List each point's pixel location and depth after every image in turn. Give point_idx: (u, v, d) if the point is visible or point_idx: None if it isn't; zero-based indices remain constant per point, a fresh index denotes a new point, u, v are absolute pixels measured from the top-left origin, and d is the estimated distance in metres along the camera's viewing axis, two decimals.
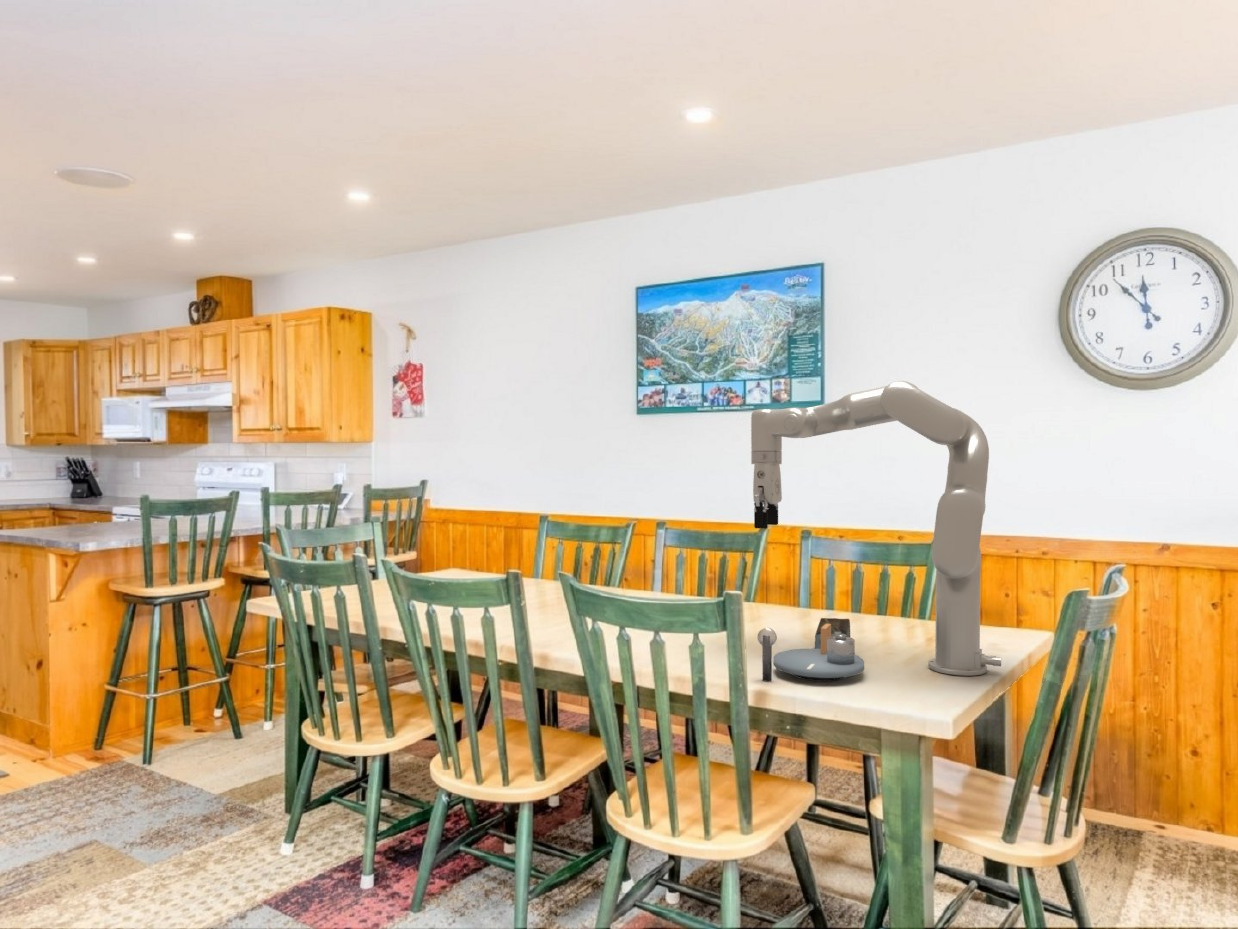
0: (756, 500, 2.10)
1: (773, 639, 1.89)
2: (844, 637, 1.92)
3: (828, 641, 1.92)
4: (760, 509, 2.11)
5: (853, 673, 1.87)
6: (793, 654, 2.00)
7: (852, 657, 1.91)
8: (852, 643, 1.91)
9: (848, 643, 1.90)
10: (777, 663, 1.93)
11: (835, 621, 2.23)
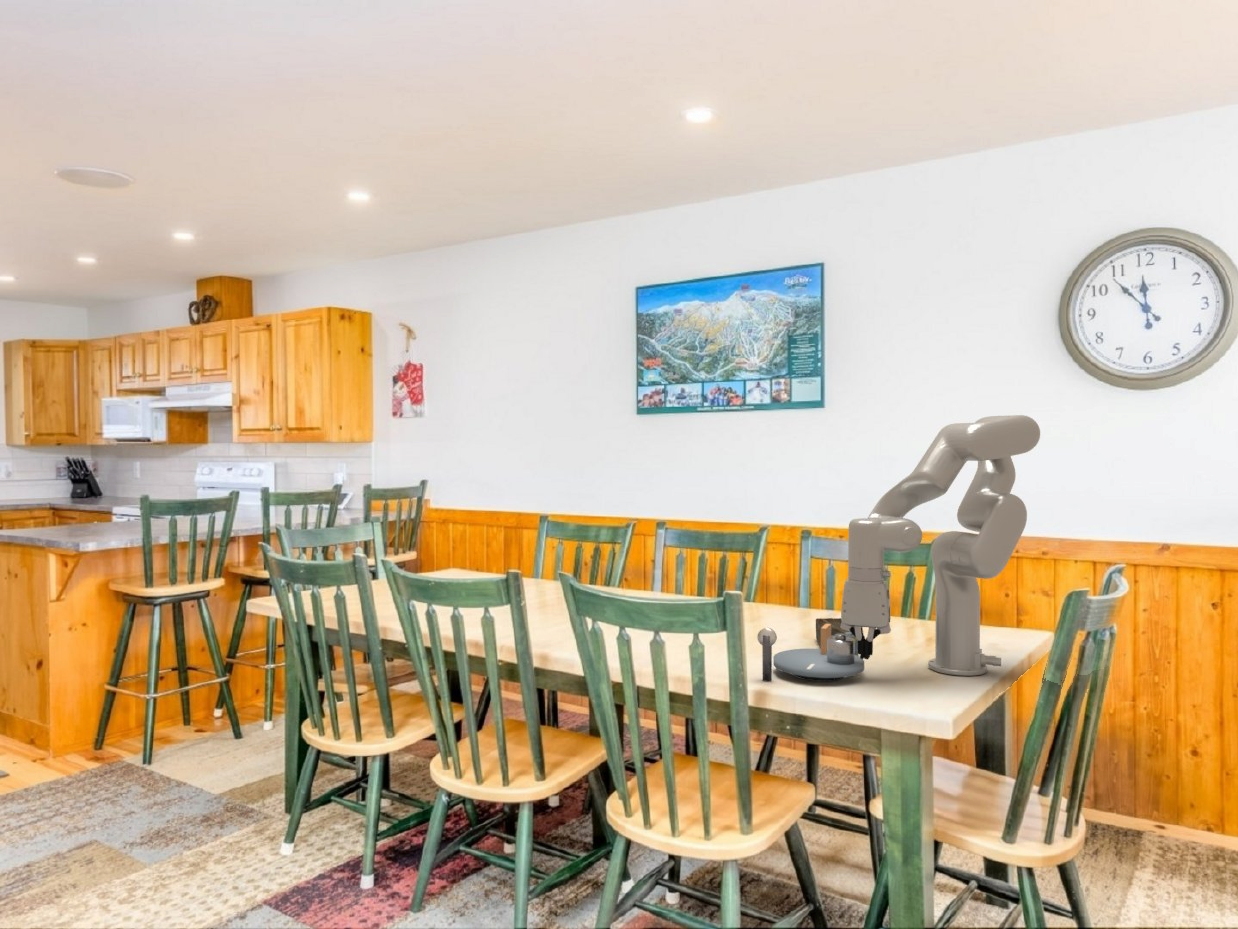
0: None
1: (773, 639, 1.89)
2: (844, 637, 1.92)
3: (828, 641, 1.92)
4: None
5: (853, 673, 1.87)
6: (793, 654, 2.00)
7: (852, 657, 1.91)
8: (852, 643, 1.91)
9: (848, 643, 1.90)
10: (777, 663, 1.93)
11: (834, 621, 2.23)
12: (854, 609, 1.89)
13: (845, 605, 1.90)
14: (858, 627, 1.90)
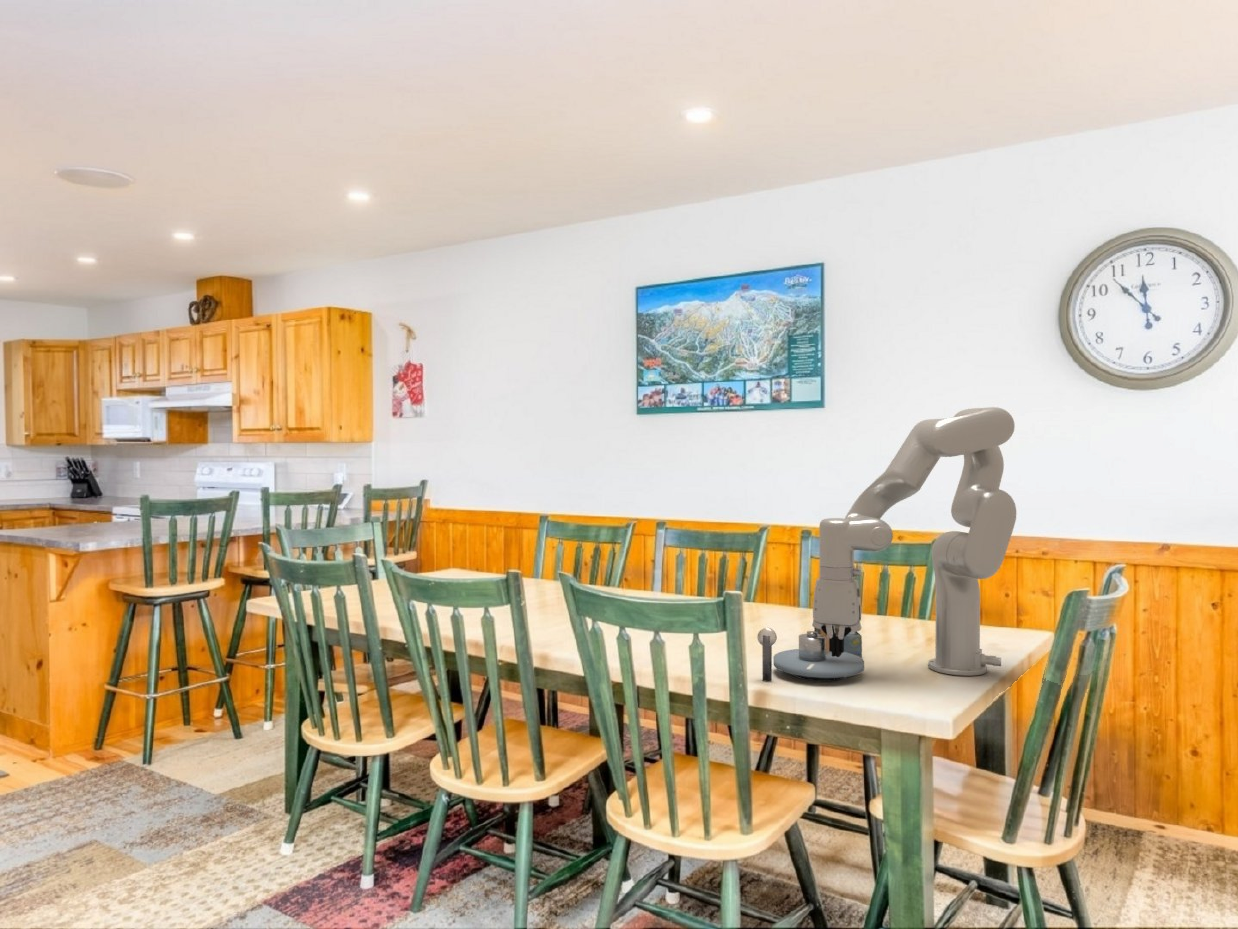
0: None
1: (773, 639, 1.89)
2: (815, 634, 1.95)
3: (800, 638, 1.95)
4: None
5: (853, 673, 1.87)
6: (793, 654, 2.00)
7: (823, 654, 1.94)
8: (823, 640, 1.94)
9: (820, 640, 1.93)
10: (777, 663, 1.93)
11: None
12: (825, 607, 1.92)
13: (816, 604, 1.93)
14: (829, 625, 1.93)
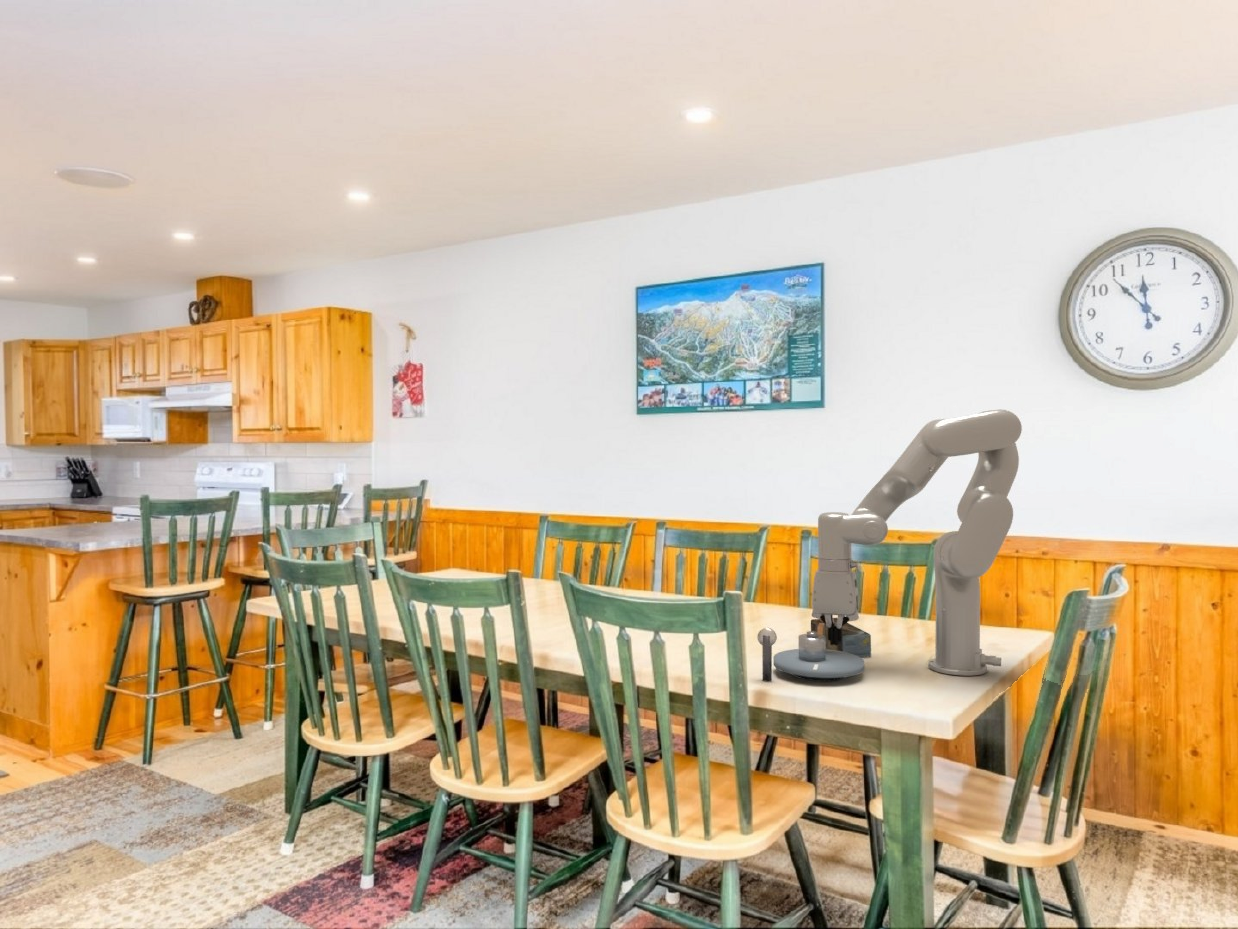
0: (853, 620, 2.00)
1: (773, 639, 1.89)
2: (816, 634, 1.95)
3: (801, 639, 1.94)
4: None
5: (857, 672, 1.88)
6: (791, 655, 1.99)
7: (824, 654, 1.94)
8: (824, 640, 1.94)
9: (821, 640, 1.93)
10: (780, 665, 1.92)
11: None
12: (824, 598, 2.00)
13: (815, 594, 2.01)
14: (828, 615, 2.01)
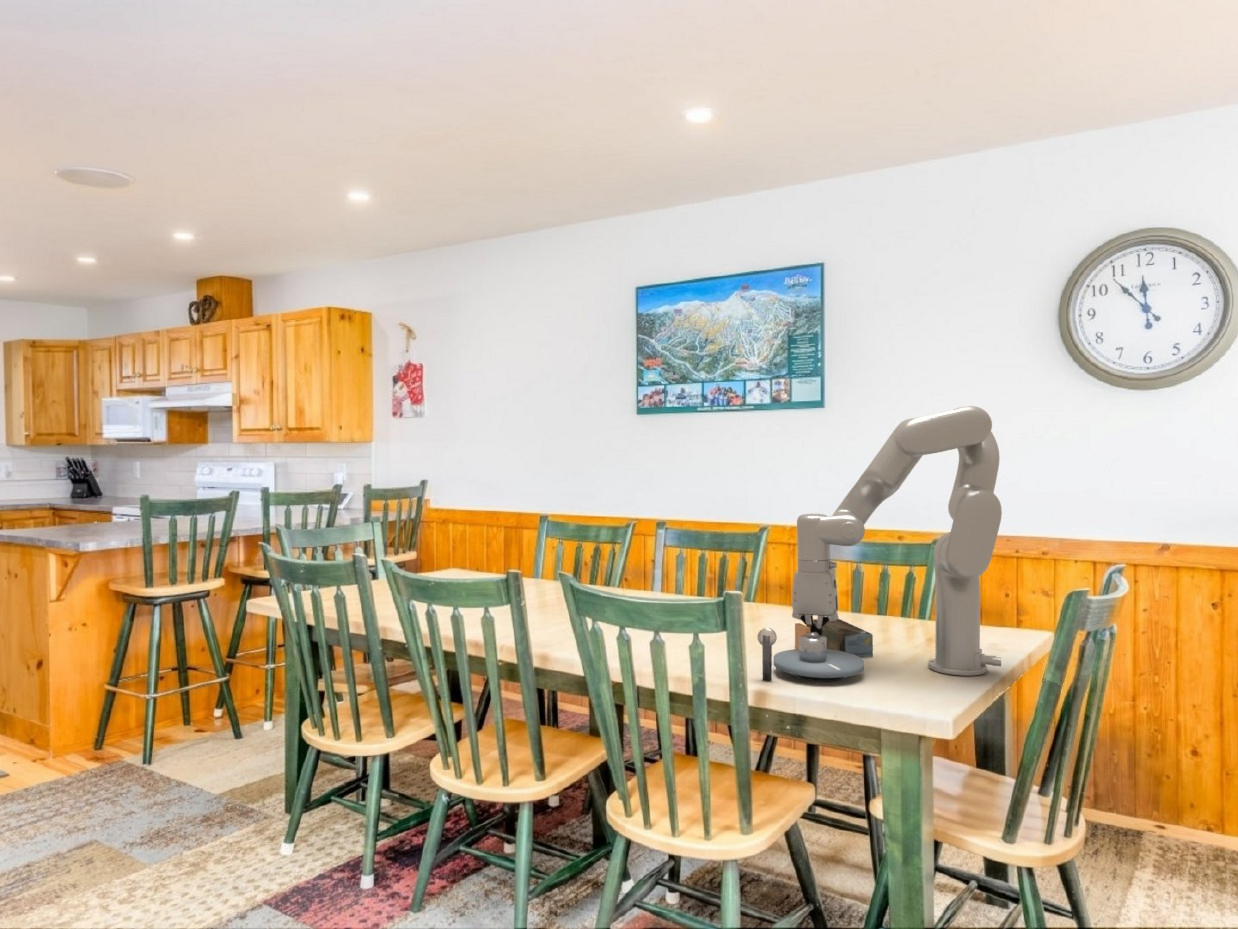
0: (832, 620, 2.02)
1: (773, 639, 1.89)
2: (818, 635, 1.95)
3: (807, 641, 1.92)
4: None
5: None
6: (789, 659, 1.96)
7: None
8: None
9: (826, 640, 1.94)
10: (800, 670, 1.87)
11: (833, 621, 2.23)
12: (804, 599, 2.02)
13: (795, 595, 2.03)
14: (808, 615, 2.03)
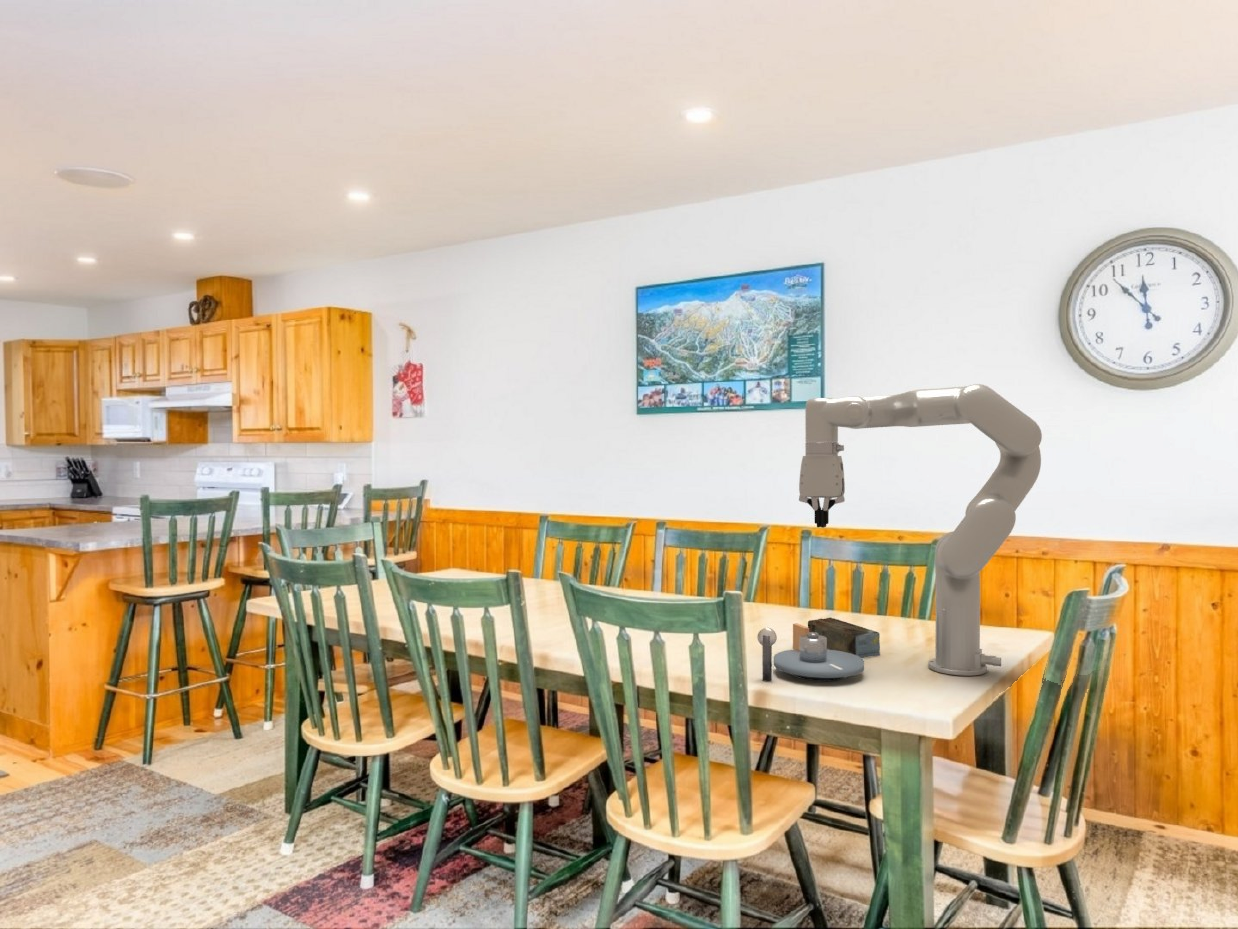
0: None
1: (773, 639, 1.89)
2: (818, 635, 1.95)
3: (808, 641, 1.92)
4: None
5: None
6: (789, 659, 1.95)
7: None
8: None
9: (826, 640, 1.94)
10: (802, 670, 1.87)
11: (832, 621, 2.23)
12: (810, 481, 2.05)
13: (802, 478, 2.06)
14: (814, 498, 2.05)
